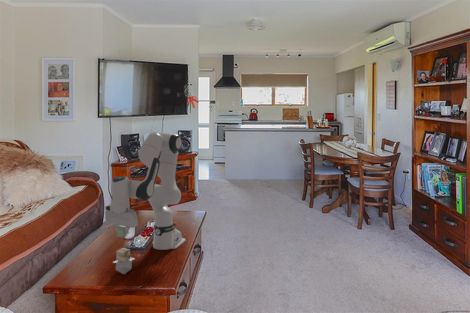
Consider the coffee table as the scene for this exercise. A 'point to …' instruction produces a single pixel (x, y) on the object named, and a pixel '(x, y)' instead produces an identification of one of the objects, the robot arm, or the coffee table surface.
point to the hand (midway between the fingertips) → (122, 232)
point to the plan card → (129, 259)
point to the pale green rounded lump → (121, 231)
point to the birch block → (123, 254)
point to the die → (124, 266)
